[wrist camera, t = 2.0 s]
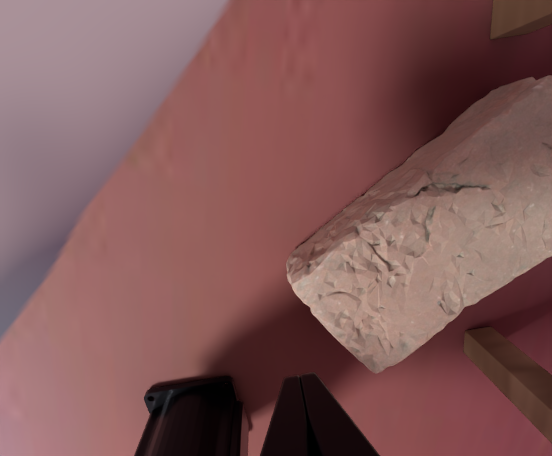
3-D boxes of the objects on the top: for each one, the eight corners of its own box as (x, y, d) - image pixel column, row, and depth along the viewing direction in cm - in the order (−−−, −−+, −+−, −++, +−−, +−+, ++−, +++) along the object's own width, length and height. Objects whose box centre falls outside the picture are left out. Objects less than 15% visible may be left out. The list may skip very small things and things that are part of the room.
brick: (499, 76, 16) (595, 51, 11) (553, 187, 18) (651, 203, 13) (277, 254, 18) (283, 292, 14) (349, 331, 21) (374, 384, 16)
